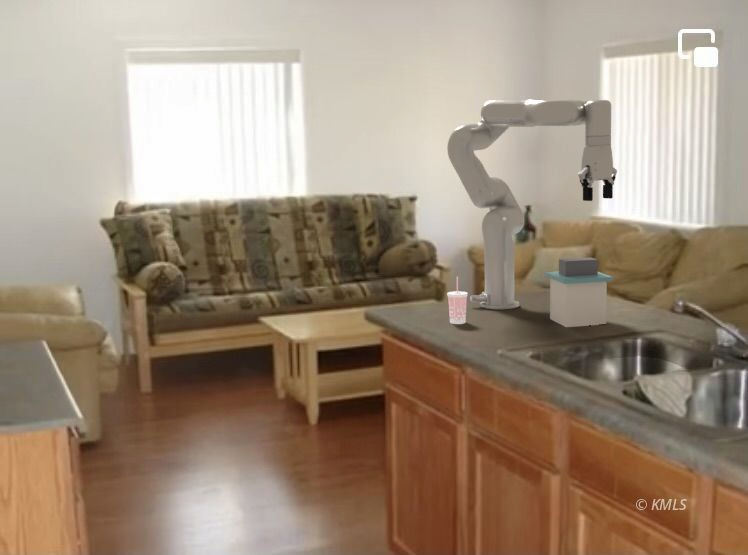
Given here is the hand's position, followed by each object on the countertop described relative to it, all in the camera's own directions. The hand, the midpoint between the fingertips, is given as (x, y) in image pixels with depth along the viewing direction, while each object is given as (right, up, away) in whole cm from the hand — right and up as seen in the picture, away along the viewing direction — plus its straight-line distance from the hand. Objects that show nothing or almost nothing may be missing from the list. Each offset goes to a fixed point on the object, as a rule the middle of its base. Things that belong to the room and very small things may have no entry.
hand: (597, 199), depth 301 cm
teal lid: (-7, -25, -6) cm, 26 cm away
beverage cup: (-42, -37, -1) cm, 56 cm away
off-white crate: (-7, -37, -4) cm, 37 cm away
